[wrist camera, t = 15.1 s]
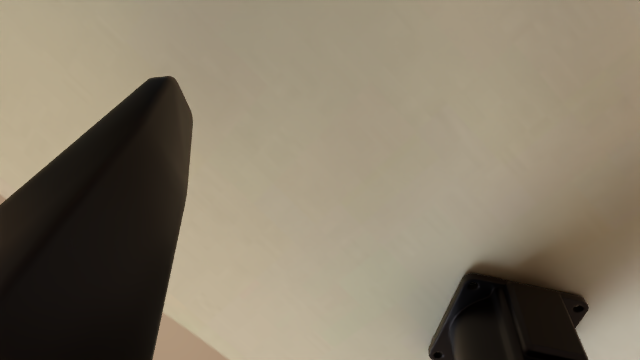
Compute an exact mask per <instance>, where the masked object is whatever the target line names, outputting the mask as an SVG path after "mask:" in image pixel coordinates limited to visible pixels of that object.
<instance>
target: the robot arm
mask: <svg viewBox="0 0 640 360" xmlns="http://www.w3.org/2000/svg"><path fill="white" fill-rule="evenodd" d="M192 128H193V118H192V113H191V110H190V108H189V106H188V104H187V101H186V99H185V97H184V95H183V93H182V91H181V89H180V86H179V84H178V82H177V81H176V80H175V78H173V77H171V76H165V77H154V78H150V79H148V80H147V81H146V82H144V83H143V84H142V85H141V86H140V87H139V88H137V89H136V90H135V91H134V92H133V93H132V94H130V95H129V96H128V97H127V98H126V99H124V100H123V101H122V102H121V103H120V104H119V105H117V106H116V107H115V108H114V109H113V110H111V111H110V112H109V113H108V114H107V115H106V116H104V117H103V118H102V119H101V120H100V121H99V122H97V123H96V124H95V125H94V126H93V127H91V128H90V129H89V130H88V131H87V132H86V133H84V134H83V135H82V136H81V137H80V138H79V139H77V140H76V141H75V142H74V143H73V144H71V145H70V146H69V147H68V148H67V149H66V150H64V151H63V152H62V153H61V154H60V155H58V156H57V157H56V158H55V159H54V160H53V161H51V162H50V163H49V164H48V165H47V166H46V167H44V168H43V169H42V170H41V171H40V172H38V173H37V174H36V175H35V176H34V177H33V178H31V179H30V180H29V181H28V182H27V183H25V184H24V185H23V186H22V187H21V188H20V189H18V190H17V191H16V192H15V193H14V194H13V195H11V196H10V197H9V198H8V199H7V200H5V201H4V202H3V203H2V204H1V205H0V360H152V359H153V354H154V350H155V345H156V340H157V335H158V330H159V326H160V321H161V316H162V311H163V307H164V302H165V297H166V292H167V288H168V283H169V278H170V273H171V269H172V264H173V259H174V254H175V249H176V245H177V240H178V235H179V230H180V226H181V221H182V216H183V211H184V206H185V201H186V195H187V187H188V176H189V164H190V152H191V140H192ZM472 282H475V284H470V283H472ZM577 305H579V306H577ZM575 306H576V307H575ZM588 309H589V307H588V304H587V302H586V300H585V299H584V298H583V297H581V296H577V295H572V294H567V293H563V292H558V291H554V290H549V289H544V288H540V287H535V286H531V285H526V284H521V283H517V282H512V281H508V280H503V279H498V278H494V277H489V276H485V275H480V274H476V273H470V274H467V275H465V276H464V277H463V278H462V280H461V282H460V284H459V287H458V289H457V291H456V293H455V295H454V297H453V299H452V301H451V303H450V305H449V307H448V309H447V311H446V313H445V315H444V317H443V319H442V321H441V323H440V326H439V328H438V330H437V332H436V334H435V336H434V338H433V340H432V342H431V344H430V346H429V349H428V350H429V356H430V358H431V359H432V360H588V357H587V355H586V352H585V350H584V348H583V346H582V343H581V341H580V339H579V336H578V334H577V332H576V329H575V328H576V326H577V325H578V324H579V322H580V321H581V319H582V318H583V317H584V315H585V314H586V312H587V311H588Z"/></svg>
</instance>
